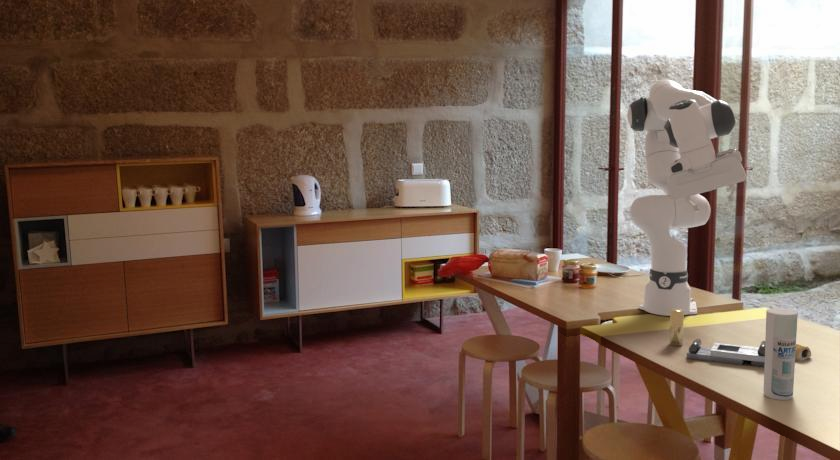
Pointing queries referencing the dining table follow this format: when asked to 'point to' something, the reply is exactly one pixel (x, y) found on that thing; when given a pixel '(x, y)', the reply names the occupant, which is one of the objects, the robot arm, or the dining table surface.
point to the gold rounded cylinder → (676, 327)
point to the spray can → (780, 353)
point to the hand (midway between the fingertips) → (714, 206)
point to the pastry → (802, 353)
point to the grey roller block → (728, 353)
